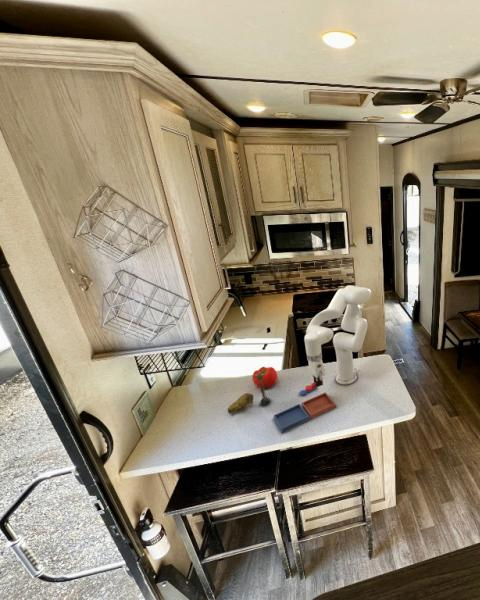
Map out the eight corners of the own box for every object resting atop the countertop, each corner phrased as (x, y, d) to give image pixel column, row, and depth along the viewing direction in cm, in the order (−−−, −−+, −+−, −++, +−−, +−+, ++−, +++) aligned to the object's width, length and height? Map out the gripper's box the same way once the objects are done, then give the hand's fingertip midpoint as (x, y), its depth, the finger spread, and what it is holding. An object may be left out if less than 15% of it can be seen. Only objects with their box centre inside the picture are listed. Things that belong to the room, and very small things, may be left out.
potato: (230, 406, 181) (227, 394, 178) (255, 401, 185) (252, 389, 182) (228, 416, 174) (225, 404, 171) (254, 410, 178) (251, 399, 174)
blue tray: (300, 407, 180) (299, 403, 179) (309, 420, 171) (308, 416, 170) (274, 419, 172) (273, 415, 171) (282, 433, 163) (281, 429, 162)
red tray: (325, 395, 188) (325, 392, 187) (335, 407, 179) (335, 403, 178) (302, 406, 180) (301, 402, 179) (311, 419, 171) (310, 415, 170)
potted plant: (257, 406, 181) (251, 376, 173) (260, 400, 185) (253, 371, 177) (268, 405, 181) (262, 375, 173) (271, 399, 186) (264, 370, 178)
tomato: (280, 377, 205) (278, 363, 200) (274, 391, 193) (271, 376, 188) (258, 378, 204) (255, 364, 200) (251, 392, 192) (247, 377, 188)
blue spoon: (314, 386, 196) (314, 383, 195) (317, 389, 193) (316, 386, 192) (299, 393, 190) (298, 390, 189) (301, 396, 188) (301, 393, 187)
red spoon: (321, 382, 179) (320, 378, 178) (324, 385, 176) (323, 381, 175) (304, 388, 173) (303, 385, 172) (306, 392, 171) (306, 388, 170)
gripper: (327, 359, 165) (331, 389, 172) (314, 346, 176) (318, 375, 184) (313, 365, 161) (317, 395, 168) (301, 351, 172) (305, 380, 180)
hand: (318, 384), depth 176 cm, fingers closed on red spoon, 1 cm apart
